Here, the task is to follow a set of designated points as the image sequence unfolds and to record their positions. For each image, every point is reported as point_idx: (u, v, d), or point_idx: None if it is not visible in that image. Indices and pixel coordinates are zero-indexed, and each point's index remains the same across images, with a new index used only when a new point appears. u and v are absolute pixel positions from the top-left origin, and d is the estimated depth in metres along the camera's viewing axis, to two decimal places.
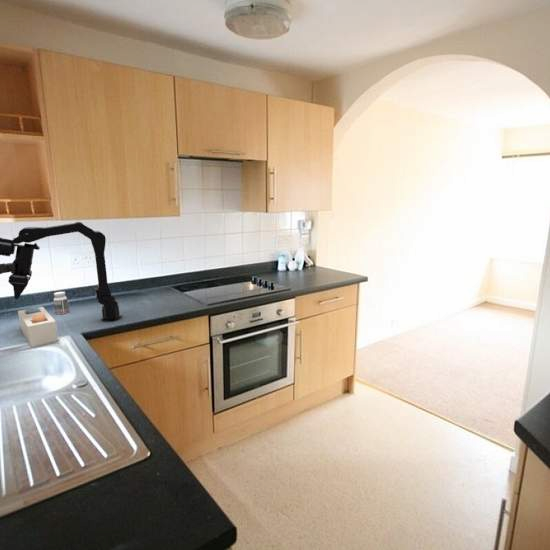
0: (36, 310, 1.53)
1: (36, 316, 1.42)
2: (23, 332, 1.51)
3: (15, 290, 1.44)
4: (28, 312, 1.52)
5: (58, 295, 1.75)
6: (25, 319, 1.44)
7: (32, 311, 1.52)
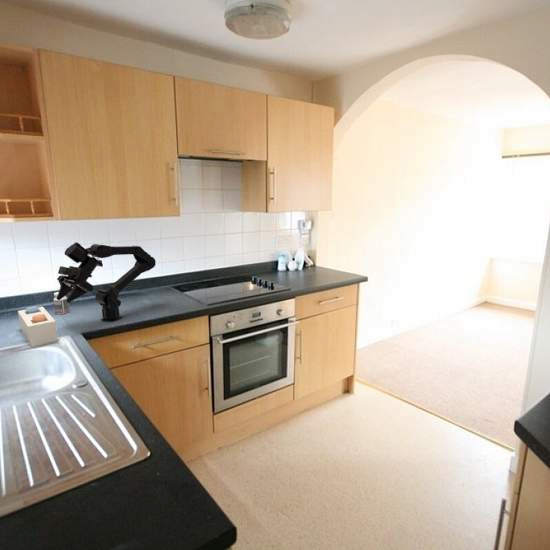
0: (36, 310, 1.53)
1: (36, 316, 1.42)
2: (23, 332, 1.51)
3: (73, 294, 1.48)
4: (28, 312, 1.52)
5: None
6: (25, 319, 1.44)
7: (32, 311, 1.52)
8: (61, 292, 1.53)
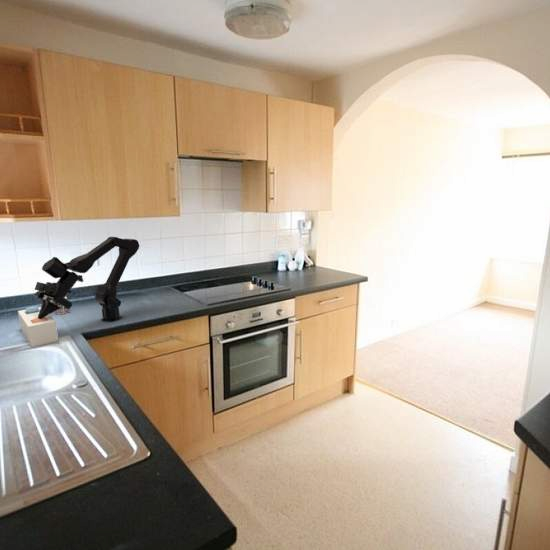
0: (36, 310, 1.53)
1: (36, 319, 1.43)
2: (23, 332, 1.51)
3: (45, 310, 1.43)
4: (28, 312, 1.52)
5: None
6: (25, 319, 1.44)
7: (32, 311, 1.52)
8: None
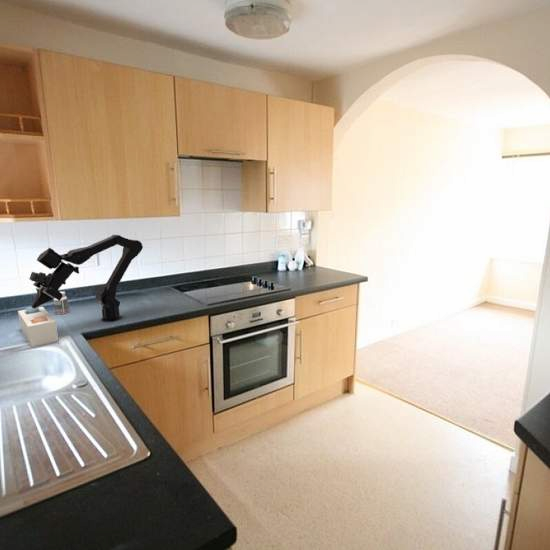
0: (36, 310, 1.53)
1: (36, 319, 1.43)
2: (23, 332, 1.51)
3: (38, 300, 1.45)
4: (28, 312, 1.52)
5: None
6: (25, 319, 1.44)
7: (32, 311, 1.52)
8: None
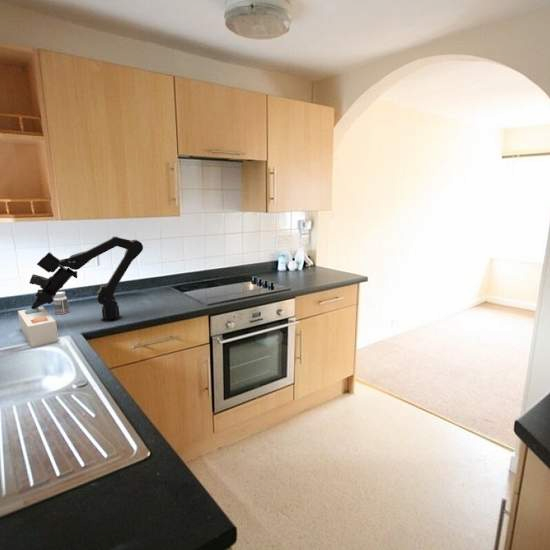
0: (36, 311, 1.53)
1: (36, 319, 1.43)
2: (23, 332, 1.51)
3: (36, 301, 1.53)
4: (28, 313, 1.52)
5: (58, 295, 1.75)
6: (25, 319, 1.44)
7: (32, 312, 1.52)
8: None
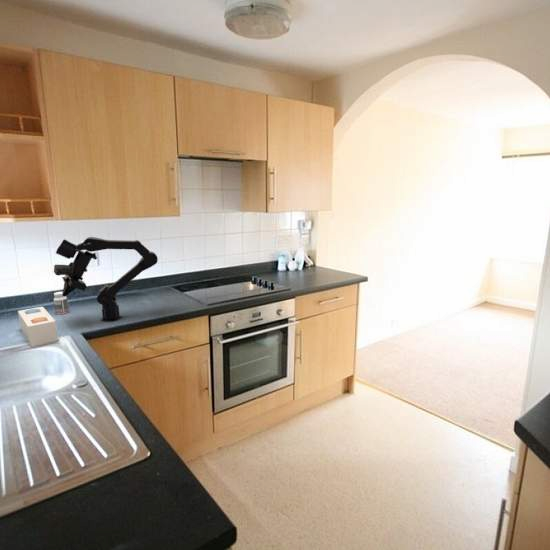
0: None
1: (36, 319, 1.43)
2: (23, 332, 1.51)
3: (66, 289, 1.58)
4: None
5: (58, 295, 1.75)
6: (25, 319, 1.44)
7: None
8: None
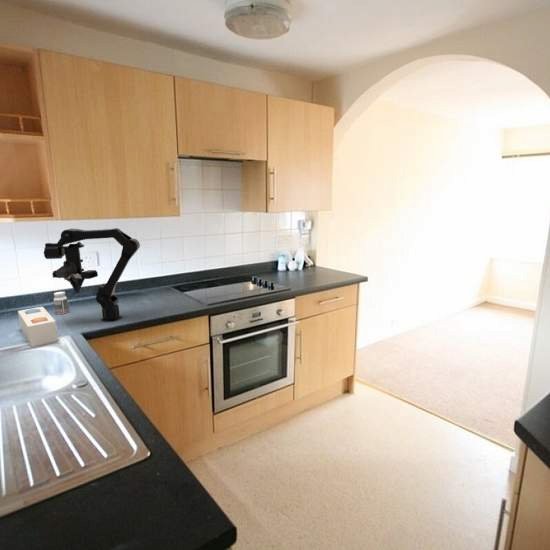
0: None
1: (36, 319, 1.43)
2: (23, 332, 1.51)
3: (78, 285, 1.62)
4: None
5: (58, 295, 1.75)
6: (25, 319, 1.44)
7: None
8: None
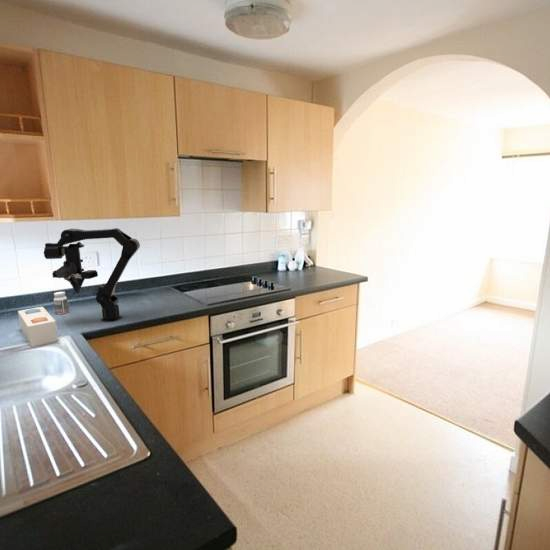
0: None
1: (36, 319, 1.43)
2: (23, 332, 1.51)
3: (78, 285, 1.62)
4: None
5: (58, 295, 1.75)
6: (25, 319, 1.44)
7: None
8: None
